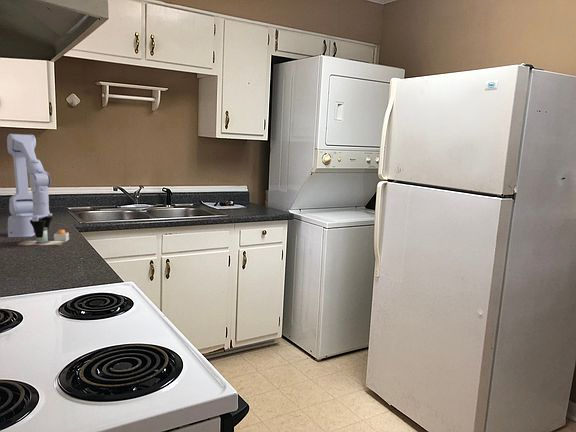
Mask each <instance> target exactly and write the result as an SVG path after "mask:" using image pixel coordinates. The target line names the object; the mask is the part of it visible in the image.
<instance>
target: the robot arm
mask: <svg viewBox="0 0 576 432" xmlns="http://www.w3.org/2000/svg"><path fill="white" fill-rule="evenodd" d="M6 144H7V152H8V154H9V155H11V156H12V160H13V170H14V179H15V180H14V181H15V184H14V185H15V192H16V193H15V194H13V195H12V196H10V198H9V203H8V204H9V205H8V209H9V213H10V215H9V216H8V219H7V237H8V238H32V237H34V236H35V237H36V239H37V238H42V237H43V230H44V227H47V228H48V230H47V233H49V229H50V225H51V222H52V220H53V213H50V212H51V211H50V205H49V204H50V203H49V202H50V200H49V188H50V186H51V176H50V173H49V172H48V171H45V169H44V166H43V164H42V161H41V160H40V159H37V156H36V153H35V152H36V151H35V149H36V146H37V139H36V137H35V135H34V134H20V133H19V134H18V133H9V134H8V135H7V137H6ZM28 175H29V180H28ZM29 185H30V192H31V193H30V192H29Z"/></svg>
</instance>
